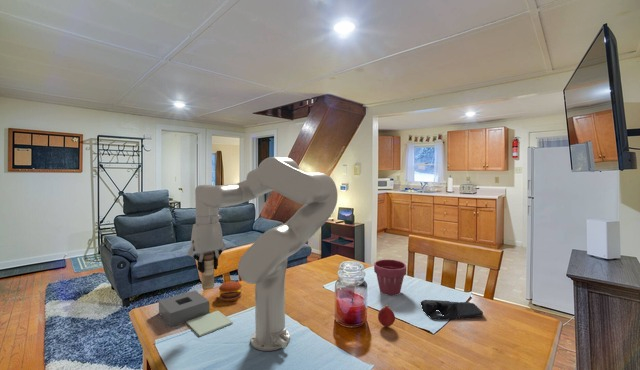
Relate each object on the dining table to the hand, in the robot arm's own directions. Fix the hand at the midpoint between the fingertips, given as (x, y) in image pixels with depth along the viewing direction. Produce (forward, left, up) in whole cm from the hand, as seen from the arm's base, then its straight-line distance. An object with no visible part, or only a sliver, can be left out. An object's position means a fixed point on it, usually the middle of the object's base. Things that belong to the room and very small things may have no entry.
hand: (208, 269), depth 106 cm
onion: (-46, -44, -20) cm, 67 cm away
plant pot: (-30, -71, -20) cm, 80 cm away
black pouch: (-57, -73, -21) cm, 94 cm away
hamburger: (+15, -16, -20) cm, 30 cm away
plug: (0, 0, -6) cm, 6 cm away
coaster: (0, 0, -20) cm, 20 cm away
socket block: (+14, +4, -20) cm, 25 cm away
